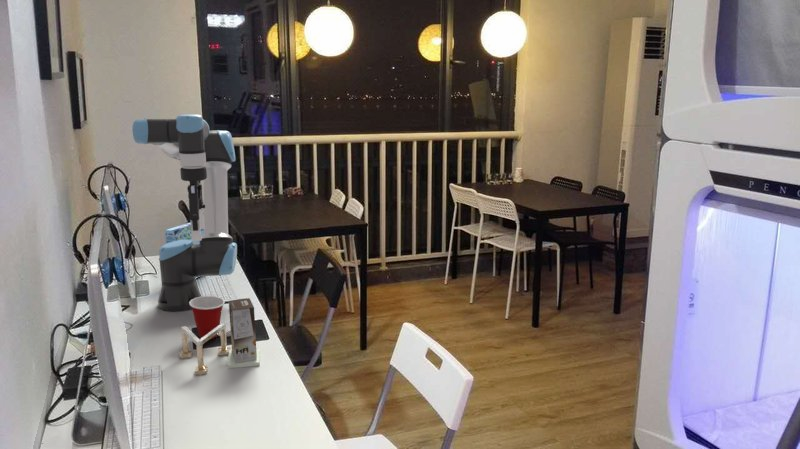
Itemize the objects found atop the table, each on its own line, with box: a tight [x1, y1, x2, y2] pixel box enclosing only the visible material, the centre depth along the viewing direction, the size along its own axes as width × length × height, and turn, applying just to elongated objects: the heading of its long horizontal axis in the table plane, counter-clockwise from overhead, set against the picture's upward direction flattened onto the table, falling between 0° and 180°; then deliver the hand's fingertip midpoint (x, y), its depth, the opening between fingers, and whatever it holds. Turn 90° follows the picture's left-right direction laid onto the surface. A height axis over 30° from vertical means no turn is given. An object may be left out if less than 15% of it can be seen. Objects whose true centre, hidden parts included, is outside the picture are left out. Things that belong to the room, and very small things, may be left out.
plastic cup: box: [189, 295, 225, 340], centre depth 202 cm, size 11×11×12 cm
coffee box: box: [228, 297, 257, 363], centre depth 185 cm, size 9×6×16 cm
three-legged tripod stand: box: [179, 322, 231, 376], centre depth 183 cm, size 15×14×9 cm
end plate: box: [226, 347, 261, 369], centre depth 187 cm, size 10×9×1 cm
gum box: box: [164, 222, 204, 278], centre depth 259 cm, size 20×5×23 cm, turn 159°
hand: (198, 234), depth 197 cm, fingers open, 13 cm apart
